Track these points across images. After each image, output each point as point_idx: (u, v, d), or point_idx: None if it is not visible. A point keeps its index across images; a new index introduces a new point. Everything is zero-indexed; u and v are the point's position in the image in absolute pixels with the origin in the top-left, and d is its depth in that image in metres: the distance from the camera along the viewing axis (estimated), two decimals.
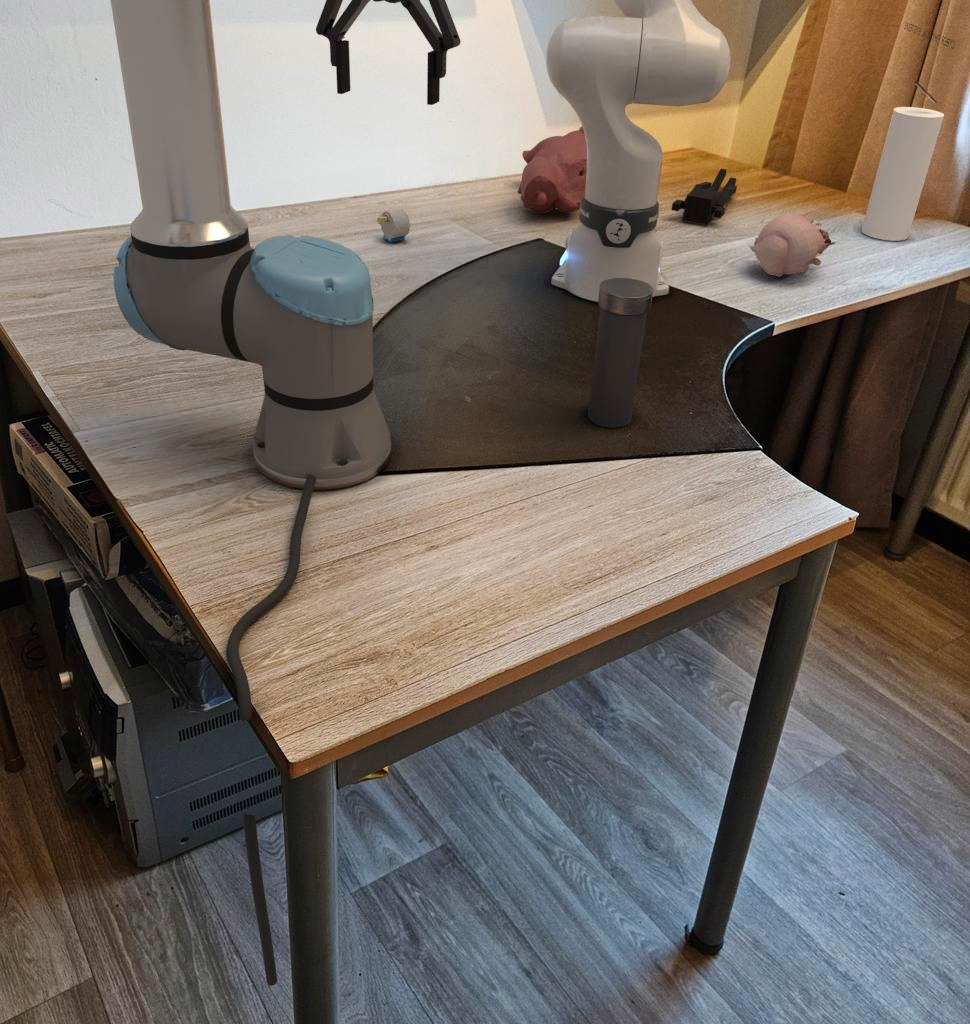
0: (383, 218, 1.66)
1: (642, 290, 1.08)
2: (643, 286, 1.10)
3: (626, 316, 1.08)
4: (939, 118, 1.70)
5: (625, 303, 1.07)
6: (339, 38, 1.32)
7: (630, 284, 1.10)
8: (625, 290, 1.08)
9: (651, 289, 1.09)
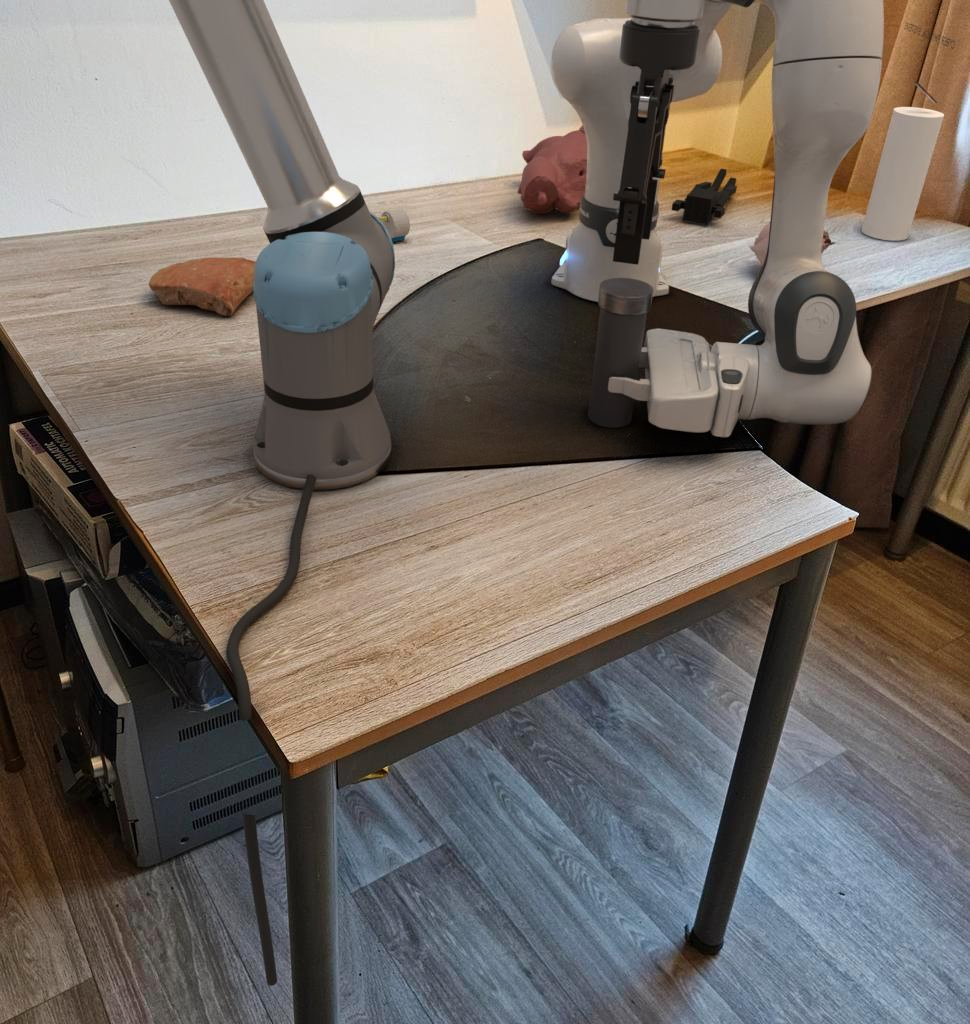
0: (383, 218, 1.66)
1: (642, 290, 1.08)
2: (643, 286, 1.10)
3: (626, 316, 1.08)
4: (939, 118, 1.70)
5: (625, 303, 1.07)
6: None
7: (630, 284, 1.10)
8: (625, 290, 1.08)
9: (651, 289, 1.09)
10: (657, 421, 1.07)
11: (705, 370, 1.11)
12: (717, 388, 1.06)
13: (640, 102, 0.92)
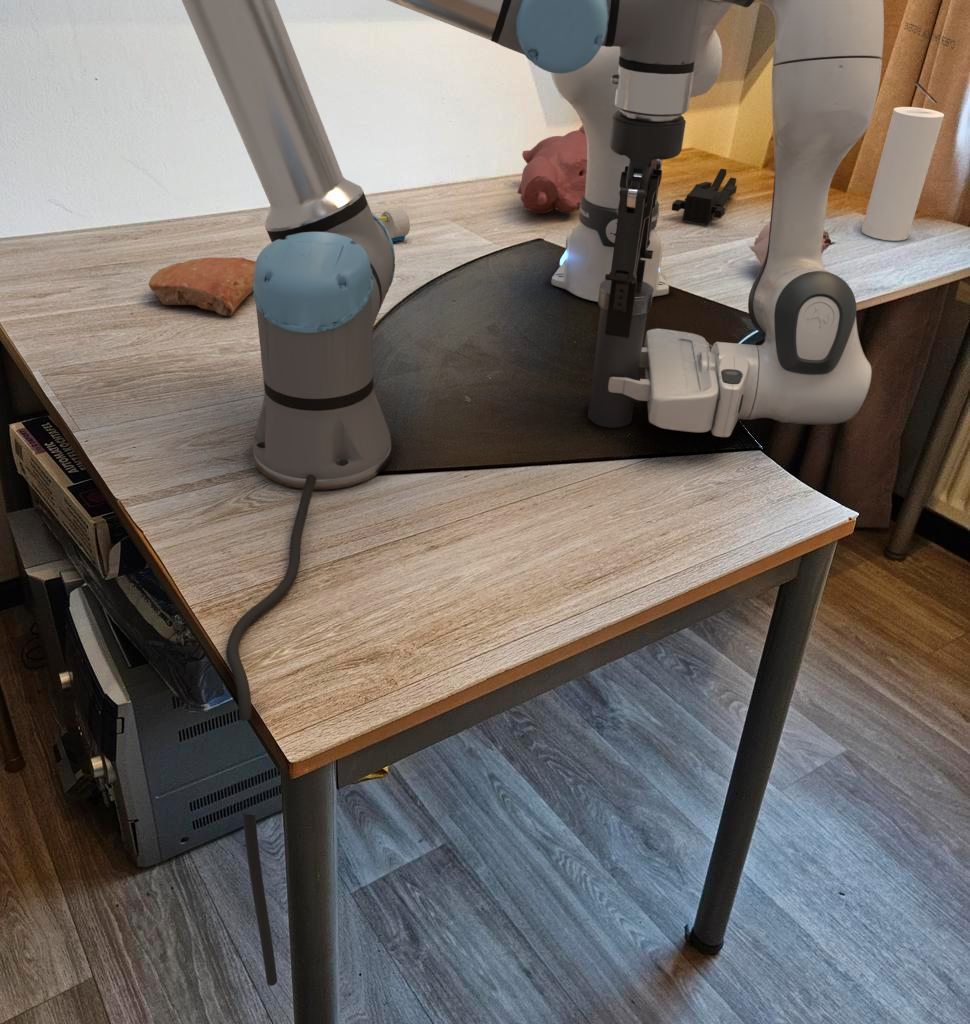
0: (383, 218, 1.66)
1: (642, 290, 1.08)
2: (643, 286, 1.10)
3: None
4: (939, 118, 1.70)
5: None
6: None
7: None
8: None
9: (651, 289, 1.09)
10: (657, 421, 1.07)
11: (705, 370, 1.11)
12: (717, 388, 1.06)
13: (628, 195, 0.97)
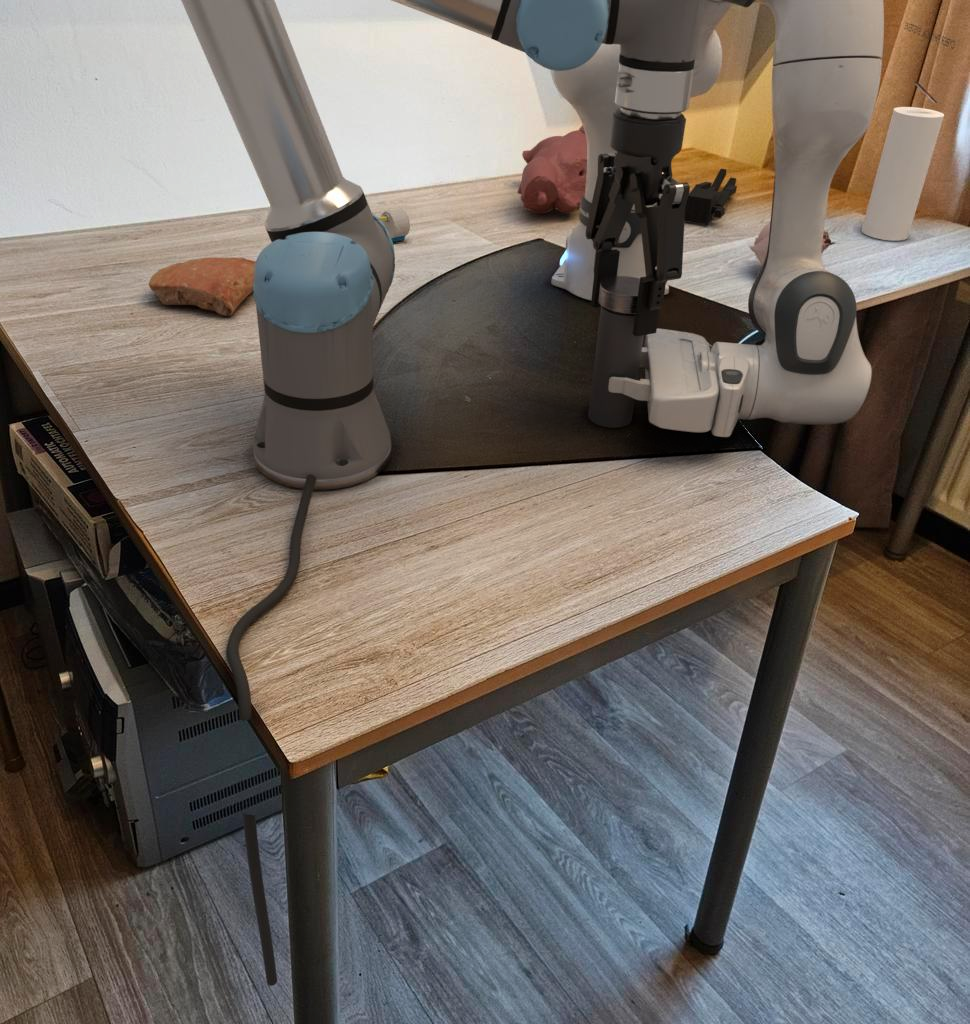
0: (383, 218, 1.66)
1: (631, 280, 1.10)
2: (620, 279, 1.11)
3: (626, 316, 1.08)
4: (939, 118, 1.70)
5: None
6: None
7: (617, 283, 1.09)
8: (636, 286, 1.09)
9: (626, 276, 1.11)
10: (657, 421, 1.07)
11: (705, 370, 1.11)
12: (717, 388, 1.06)
13: (677, 191, 0.97)
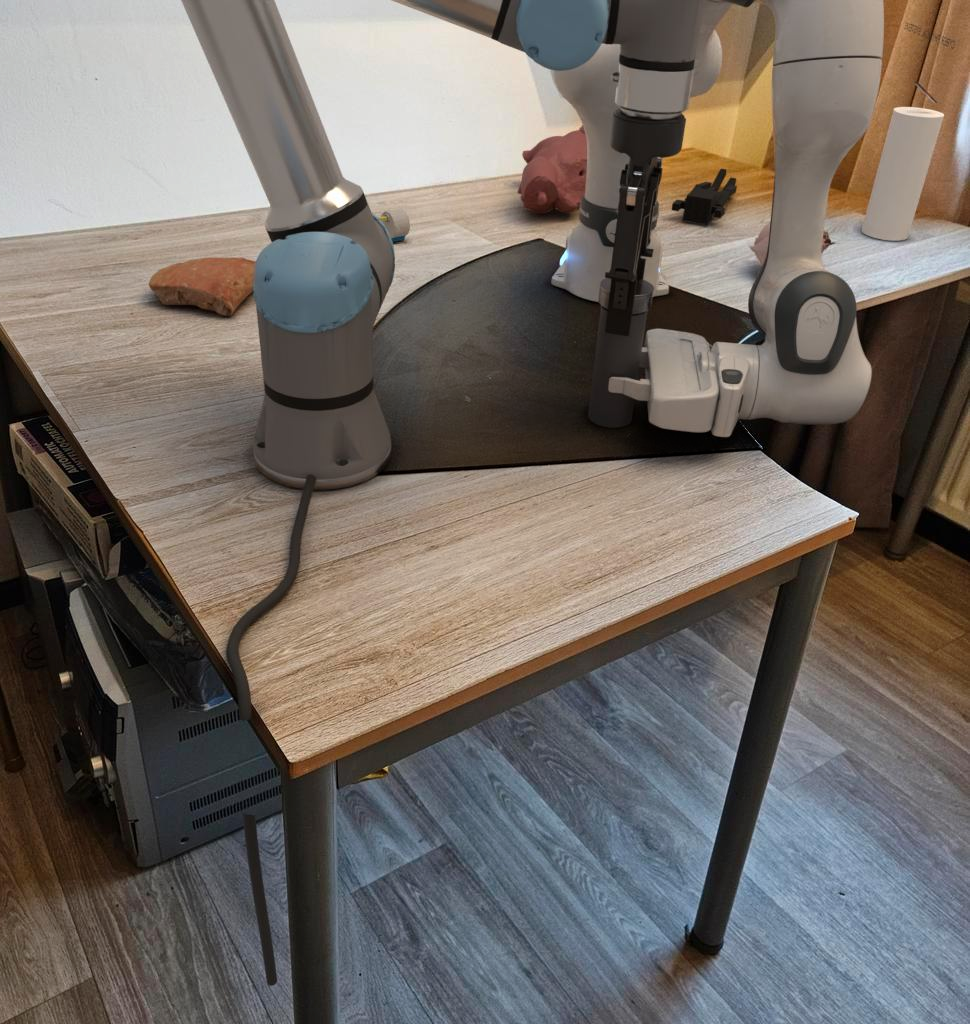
0: (383, 218, 1.66)
1: None
2: None
3: None
4: (939, 118, 1.70)
5: None
6: None
7: None
8: (636, 286, 1.09)
9: None
10: (657, 421, 1.07)
11: (705, 370, 1.11)
12: (717, 388, 1.06)
13: (628, 193, 0.97)
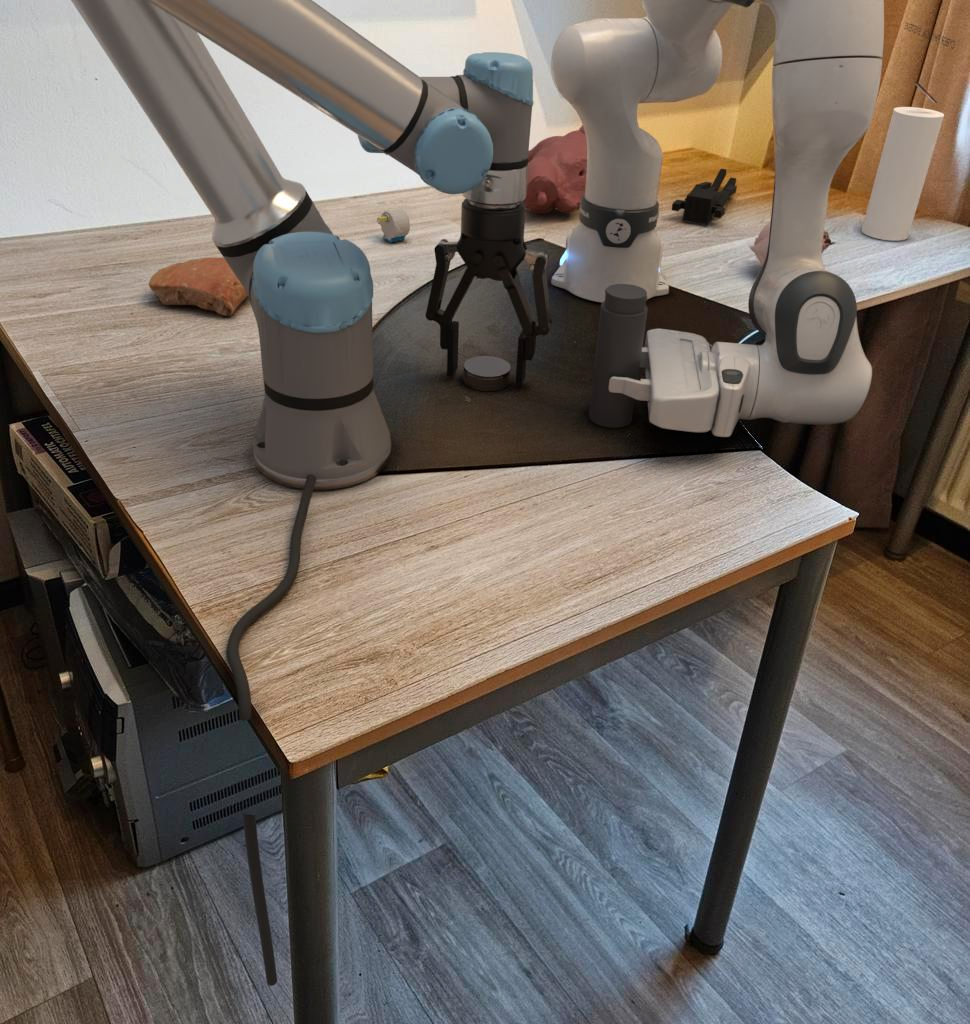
0: (383, 218, 1.66)
1: (473, 363, 1.25)
2: (472, 367, 1.23)
3: (626, 316, 1.08)
4: (939, 118, 1.70)
5: None
6: None
7: (483, 369, 1.23)
8: (488, 362, 1.25)
9: (465, 364, 1.24)
10: (658, 421, 1.07)
11: (706, 370, 1.11)
12: (718, 388, 1.06)
13: (546, 259, 1.14)
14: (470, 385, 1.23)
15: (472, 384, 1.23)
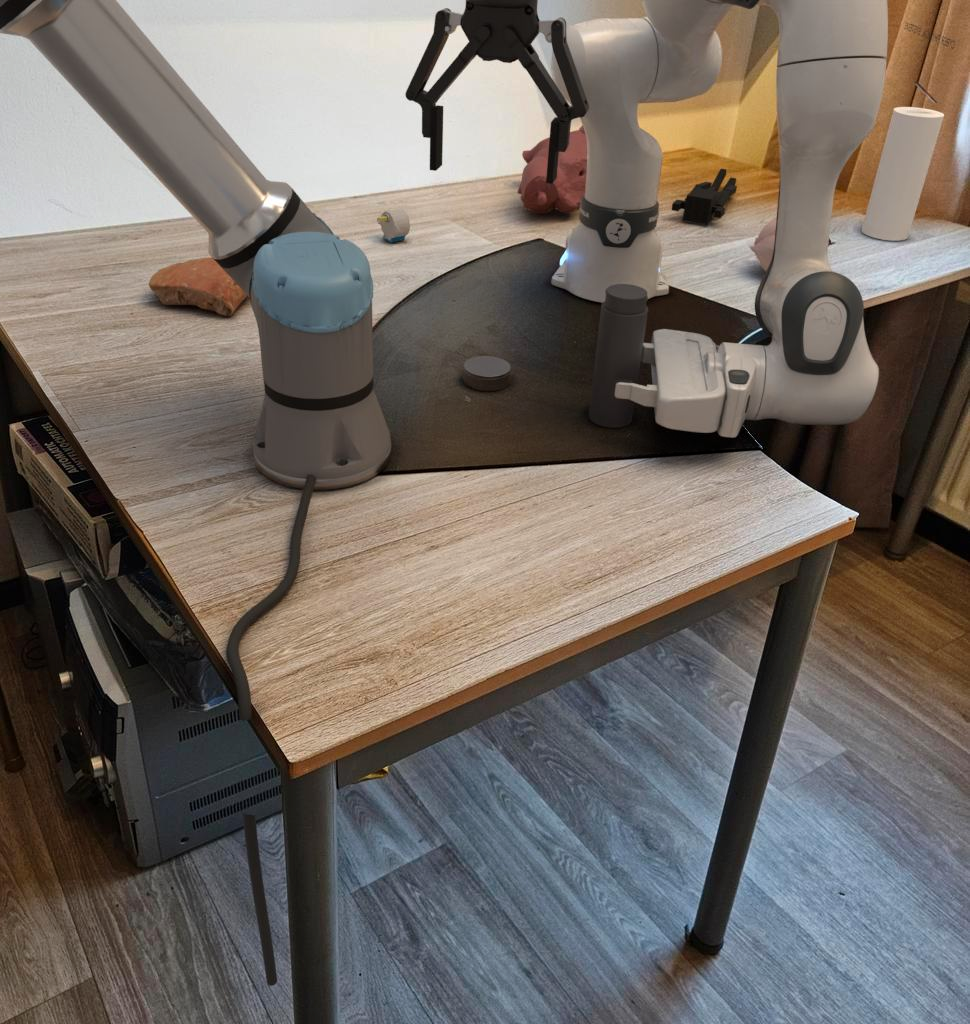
0: (383, 218, 1.66)
1: (473, 363, 1.25)
2: (472, 367, 1.23)
3: (627, 316, 1.08)
4: (939, 118, 1.70)
5: None
6: None
7: (483, 369, 1.23)
8: (488, 362, 1.25)
9: (465, 364, 1.24)
10: (664, 421, 1.07)
11: (712, 370, 1.11)
12: (724, 388, 1.06)
13: (563, 24, 1.00)
14: (470, 385, 1.23)
15: (472, 384, 1.23)
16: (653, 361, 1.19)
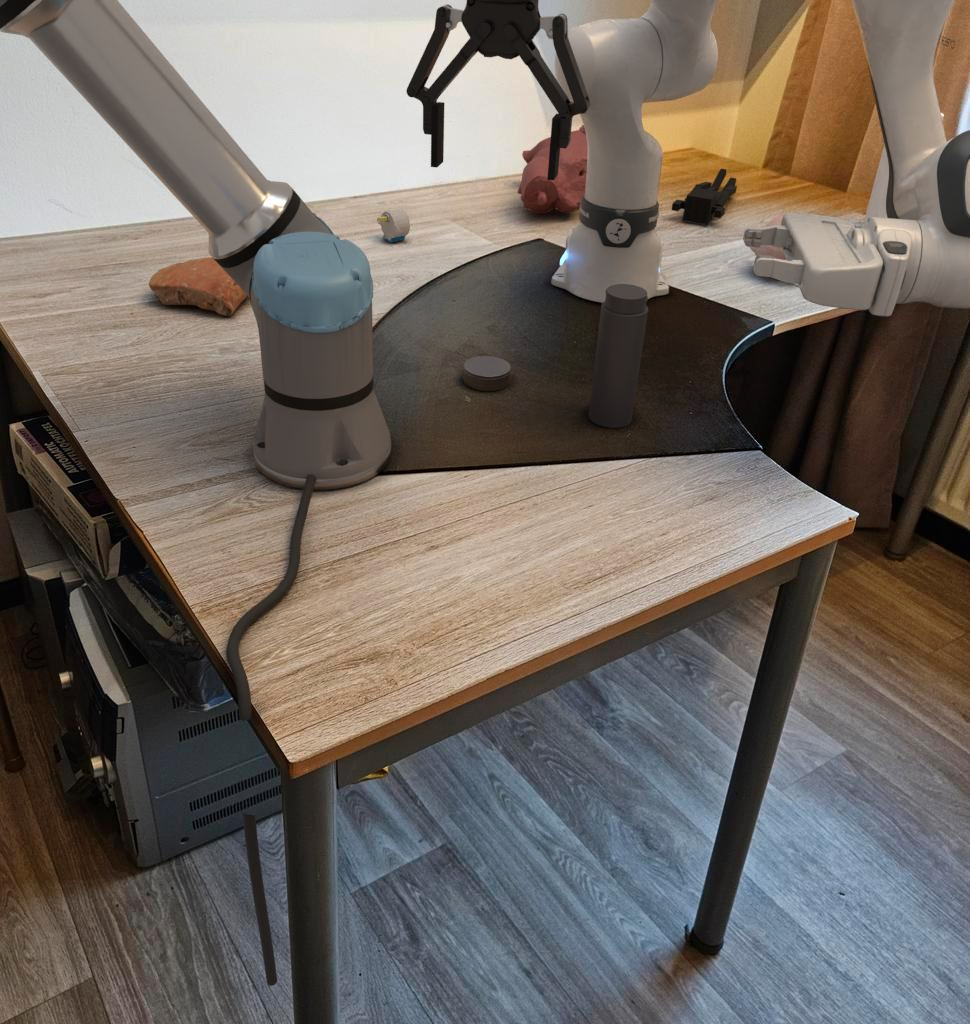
0: (383, 218, 1.66)
1: (473, 363, 1.25)
2: (472, 367, 1.23)
3: (627, 316, 1.08)
4: None
5: None
6: None
7: (483, 369, 1.23)
8: (488, 362, 1.25)
9: (465, 364, 1.24)
10: (815, 296, 0.97)
11: (861, 245, 1.01)
12: (881, 259, 0.97)
13: (564, 20, 1.00)
14: (470, 385, 1.23)
15: (472, 384, 1.23)
16: (786, 244, 1.10)
